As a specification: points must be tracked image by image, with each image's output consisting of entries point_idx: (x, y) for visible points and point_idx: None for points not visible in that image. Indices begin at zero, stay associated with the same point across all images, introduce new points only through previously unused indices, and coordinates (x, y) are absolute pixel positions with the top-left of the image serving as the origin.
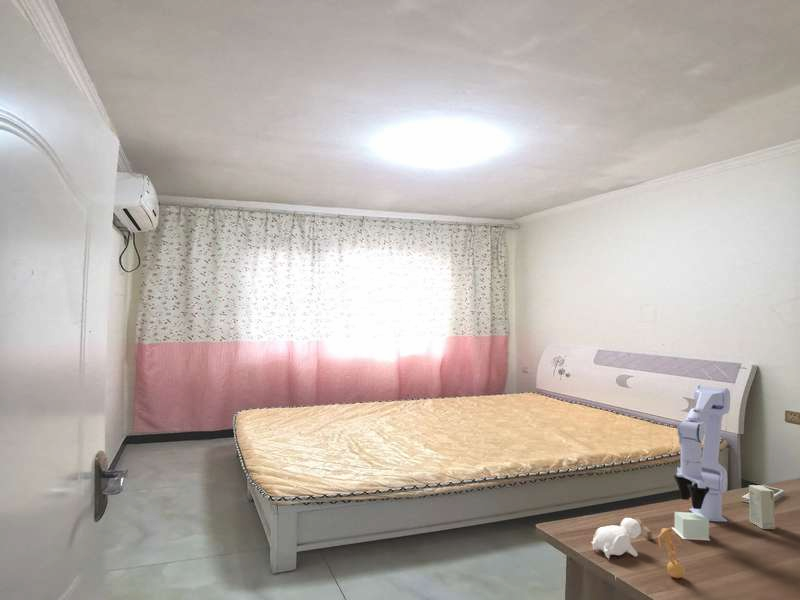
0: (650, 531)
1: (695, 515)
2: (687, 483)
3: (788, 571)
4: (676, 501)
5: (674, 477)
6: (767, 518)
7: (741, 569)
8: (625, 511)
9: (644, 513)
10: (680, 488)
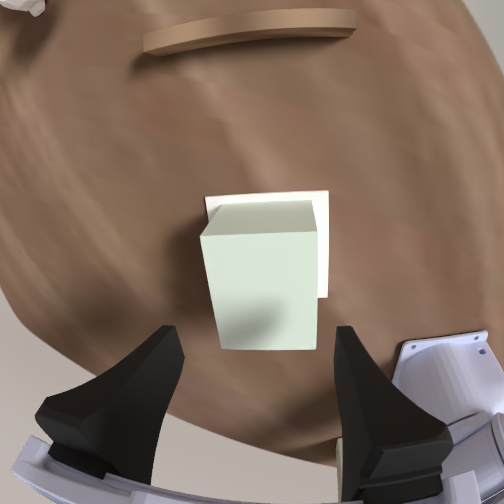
0: (149, 48)
1: (276, 321)
2: (348, 453)
3: (99, 373)
4: None
5: (433, 428)
6: (337, 466)
7: (55, 286)
8: (485, 59)
9: (479, 137)
10: (351, 380)
